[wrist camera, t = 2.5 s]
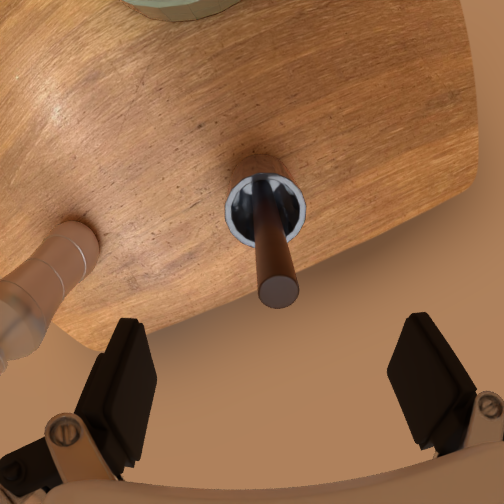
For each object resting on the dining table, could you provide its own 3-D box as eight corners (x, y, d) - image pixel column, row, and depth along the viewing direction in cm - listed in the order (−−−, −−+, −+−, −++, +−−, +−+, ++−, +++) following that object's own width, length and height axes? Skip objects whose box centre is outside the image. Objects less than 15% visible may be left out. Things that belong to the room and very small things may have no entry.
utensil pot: (292, 154, 28) (308, 174, 21) (289, 213, 31) (302, 249, 24) (229, 153, 28) (224, 172, 21) (230, 212, 31) (225, 249, 24)
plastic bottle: (48, 234, 31) (-60, 345, 13) (81, 202, 30) (-44, 316, 12) (80, 276, 34) (-4, 403, 16) (116, 249, 32) (25, 389, 15)
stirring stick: (272, 180, 27) (301, 275, 13) (271, 199, 28) (297, 309, 14) (251, 179, 27) (258, 275, 13) (251, 199, 28) (257, 309, 14)
